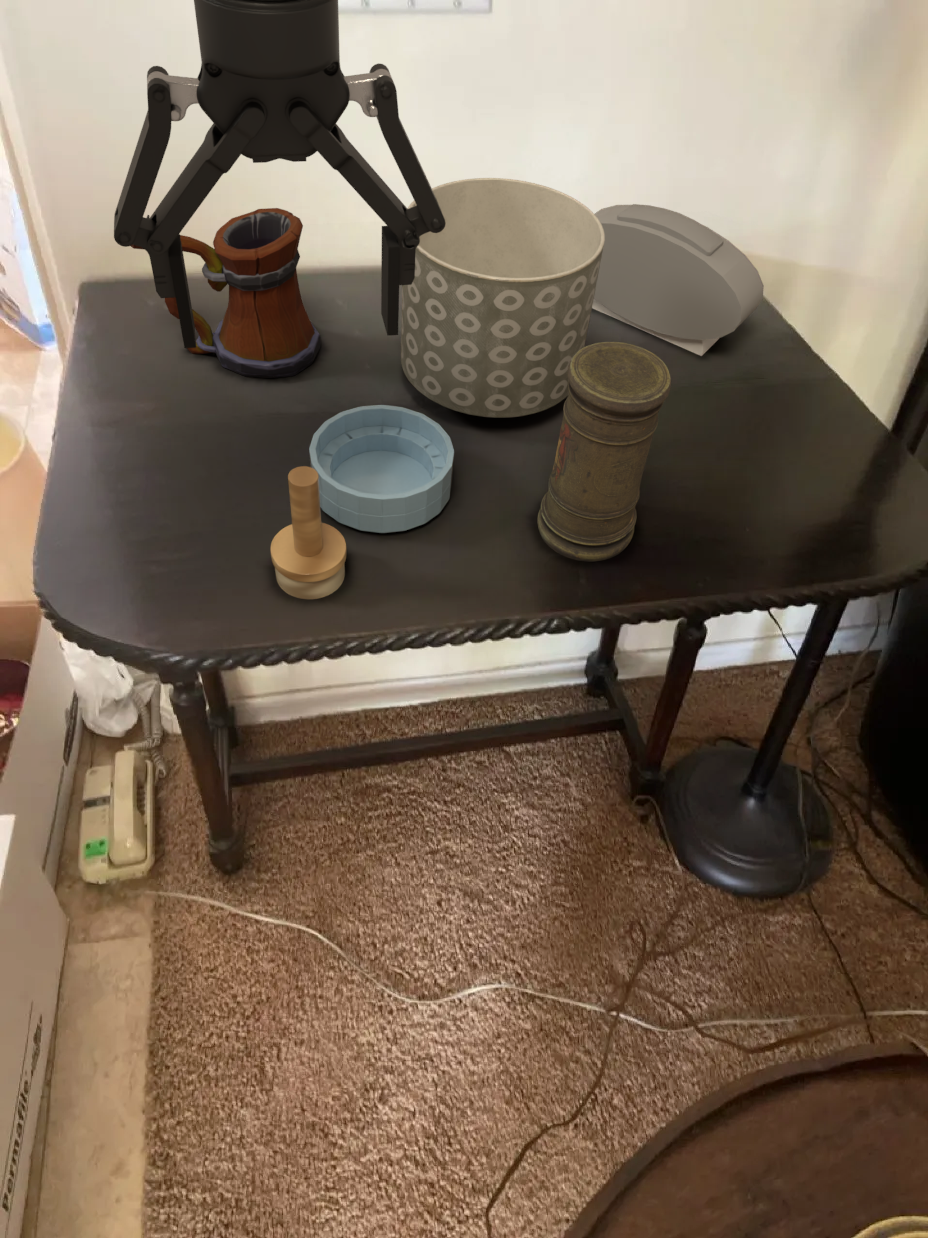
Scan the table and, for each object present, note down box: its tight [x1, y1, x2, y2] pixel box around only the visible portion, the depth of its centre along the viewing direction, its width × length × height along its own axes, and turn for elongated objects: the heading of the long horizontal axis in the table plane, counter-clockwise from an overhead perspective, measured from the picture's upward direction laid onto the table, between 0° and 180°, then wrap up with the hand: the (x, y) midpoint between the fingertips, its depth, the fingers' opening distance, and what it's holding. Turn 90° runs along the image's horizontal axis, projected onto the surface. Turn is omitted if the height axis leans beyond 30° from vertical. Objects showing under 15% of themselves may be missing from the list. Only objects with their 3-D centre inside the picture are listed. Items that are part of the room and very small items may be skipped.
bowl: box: [308, 404, 455, 534], centre depth 91 cm, size 13×13×5 cm
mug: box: [130, 207, 322, 379], centre depth 100 cm, size 18×12×15 cm, turn 98°
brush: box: [270, 465, 347, 600], centre depth 81 cm, size 6×6×12 cm
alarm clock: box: [592, 203, 765, 357], centre depth 110 cm, size 23×6×13 cm, turn 54°
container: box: [536, 341, 672, 563], centre depth 85 cm, size 9×9×18 cm
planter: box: [400, 177, 605, 419], centre depth 98 cm, size 19×19×18 cm
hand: (291, 330), depth 66 cm, fingers open, 13 cm apart
